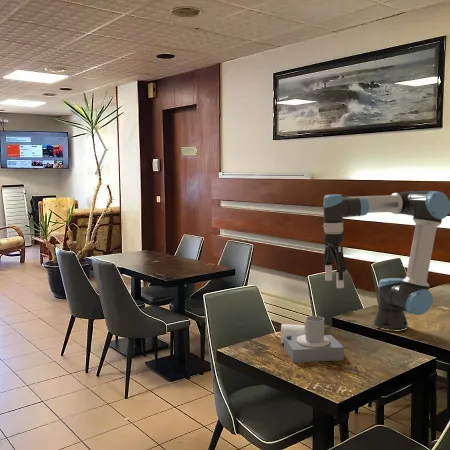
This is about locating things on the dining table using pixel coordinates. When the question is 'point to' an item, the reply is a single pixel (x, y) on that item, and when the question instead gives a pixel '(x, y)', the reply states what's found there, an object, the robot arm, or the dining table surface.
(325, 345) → the square base with disc
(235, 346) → the dining table surface
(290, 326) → the white rounded block
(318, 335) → the cup
